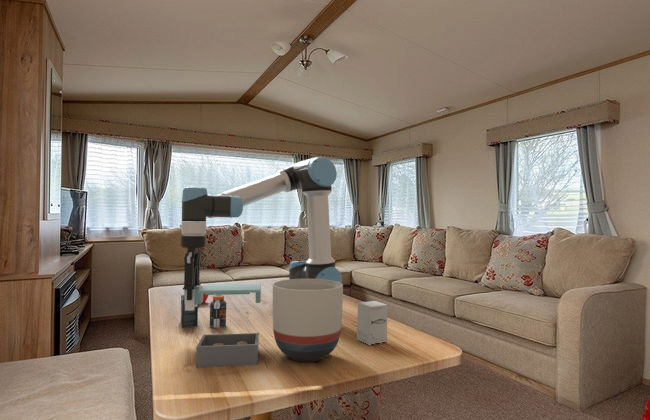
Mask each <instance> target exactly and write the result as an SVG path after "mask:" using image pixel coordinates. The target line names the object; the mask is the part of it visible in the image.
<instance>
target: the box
mask: <svg viewBox="0 0 650 420" xmlns="http://www.w3.org/2000/svg"><path fill="white" fill-rule="evenodd" d="M198 313H199V305H198V306H197V307H194V310H193V311H185V304H184V294H183V295H180V325H181V328H183V329H184V328H191V327H192V328H193V327H194V328H195V327H198V323H199V322H198V321H199V320H198V318H199V315H198Z"/></svg>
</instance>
